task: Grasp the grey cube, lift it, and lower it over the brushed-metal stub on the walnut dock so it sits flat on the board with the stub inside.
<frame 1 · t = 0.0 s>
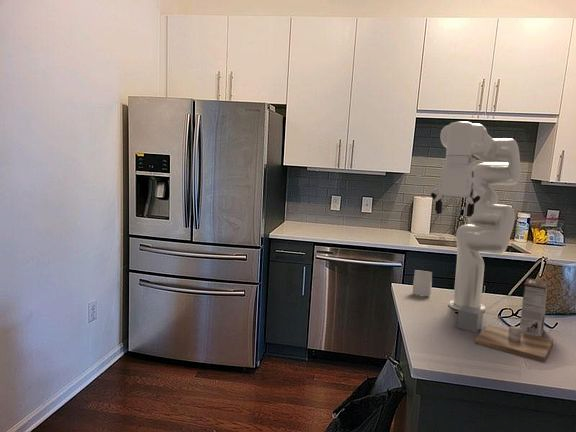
hand: (453, 214, 138), 37 cm above the worktop, tool pointing down, fingers open, 9 cm apart
grey rectangular block: (421, 295, 175), on the worktop
coffee box: (531, 331, 139), on the worktop
grey cube: (469, 327, 140), on the worktop
dock: (513, 343, 128), on the worktop
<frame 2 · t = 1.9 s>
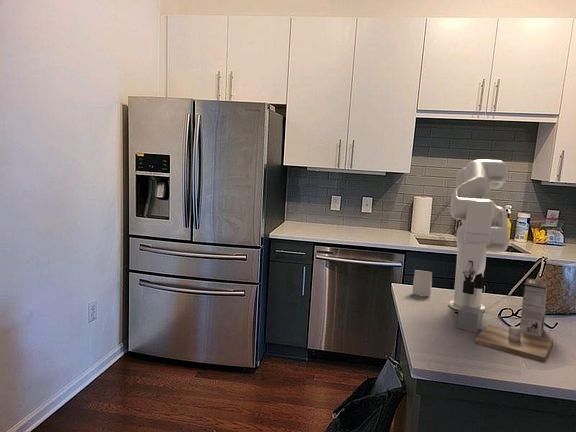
hand: (472, 290, 138), 13 cm above the worktop, tool pointing down, fingers open, 9 cm apart
nothing on the worktop moved.
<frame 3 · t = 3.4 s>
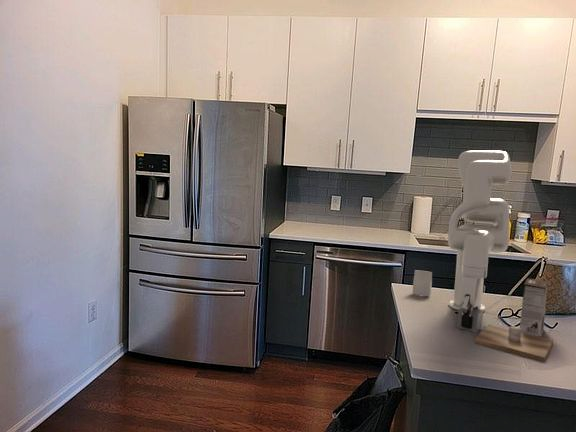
hand: (469, 324, 140), 1 cm above the worktop, tool pointing down, fingers closed on grey cube, 6 cm apart
grey cube: (469, 327, 140), on the worktop, touching gripper
everything else where it was.
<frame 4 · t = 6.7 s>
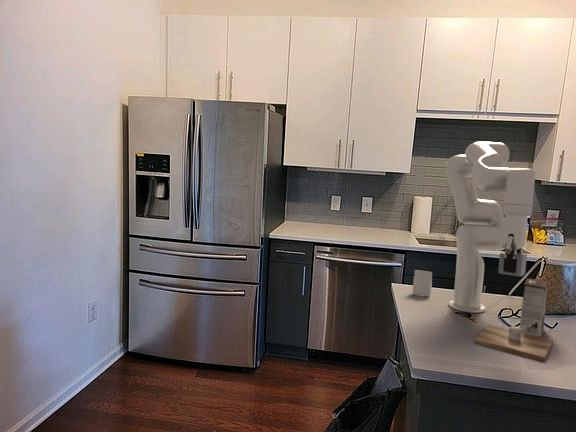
hand: (512, 269, 127), 22 cm above the worktop, tool pointing down, fingers closed on grey cube, 6 cm apart
grey cube: (511, 273, 127), point 21 cm above the worktop, touching gripper
everything else where it was.
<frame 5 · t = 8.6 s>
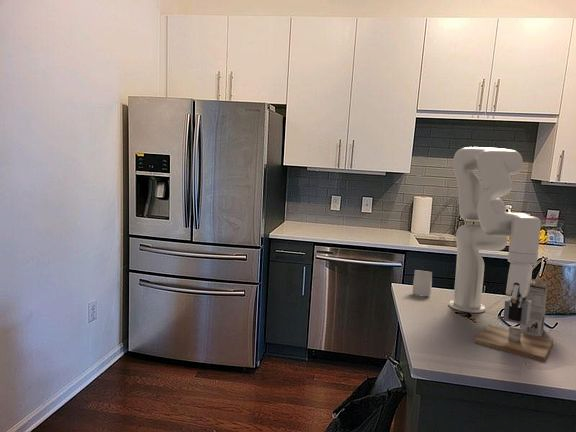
hand: (516, 316, 127), 8 cm above the worktop, tool pointing down, fingers closed on grey cube, 6 cm apart
grey cube: (516, 320, 127), point 7 cm above the worktop, touching gripper
everything else where it was.
when the fingers open (4 cm above the worktop, at t = 10.0 s): grey cube drops 1 cm, resting on dock.
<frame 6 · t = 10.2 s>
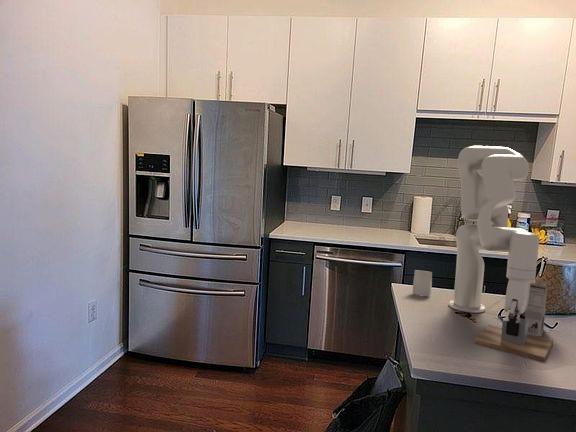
hand: (515, 330, 127), 4 cm above the worktop, tool pointing down, fingers open, 7 cm apart
grey cube: (514, 339, 128), point 1 cm above the worktop, touching dock
everything else where it was.
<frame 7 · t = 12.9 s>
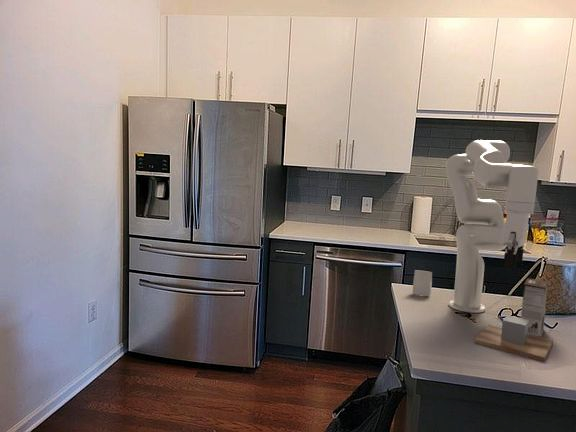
hand: (512, 264, 128), 24 cm above the worktop, tool pointing down, fingers open, 9 cm apart
nothing on the worktop moved.
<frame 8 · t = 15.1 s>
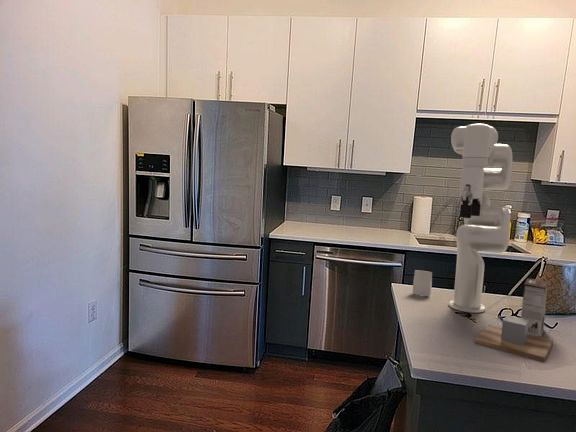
hand: (470, 216, 138), 36 cm above the worktop, tool pointing down, fingers open, 9 cm apart
nothing on the worktop moved.
at the end: grey cube 0.1 cm off-centre on the dock, point 1.2 cm above the dock's base; grey cube tilted 0°; the gripper is holding nothing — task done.
